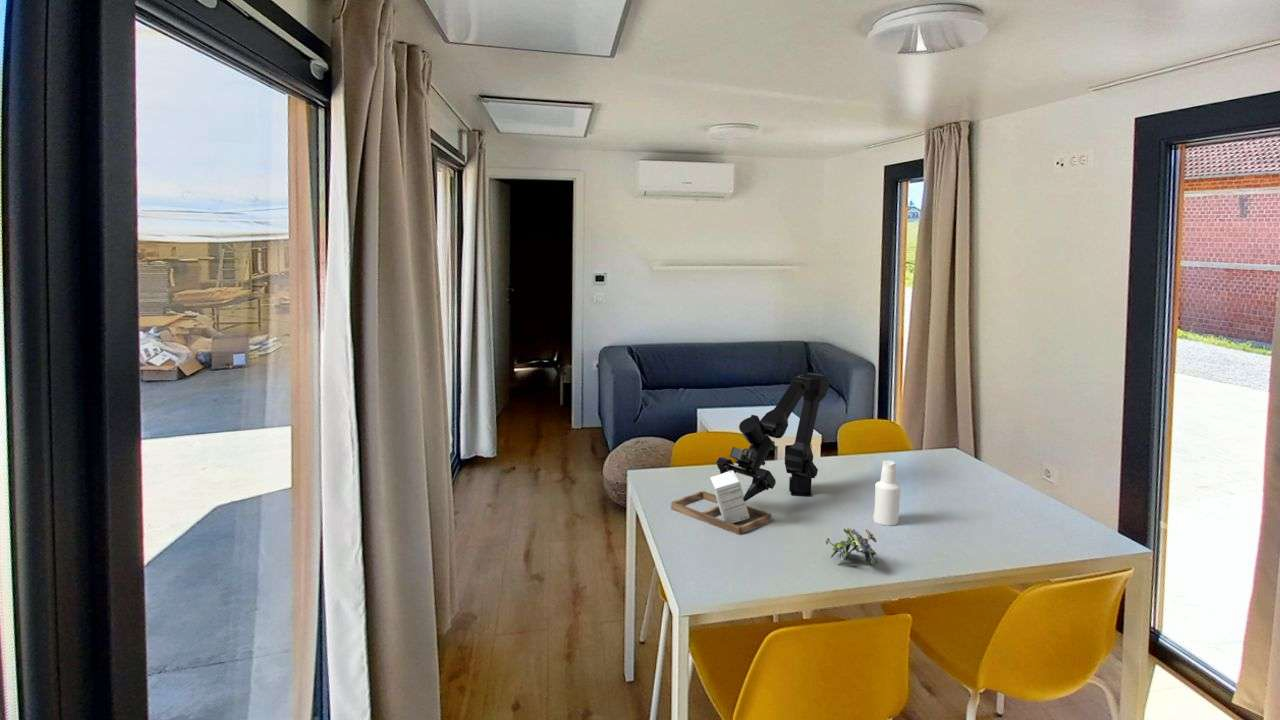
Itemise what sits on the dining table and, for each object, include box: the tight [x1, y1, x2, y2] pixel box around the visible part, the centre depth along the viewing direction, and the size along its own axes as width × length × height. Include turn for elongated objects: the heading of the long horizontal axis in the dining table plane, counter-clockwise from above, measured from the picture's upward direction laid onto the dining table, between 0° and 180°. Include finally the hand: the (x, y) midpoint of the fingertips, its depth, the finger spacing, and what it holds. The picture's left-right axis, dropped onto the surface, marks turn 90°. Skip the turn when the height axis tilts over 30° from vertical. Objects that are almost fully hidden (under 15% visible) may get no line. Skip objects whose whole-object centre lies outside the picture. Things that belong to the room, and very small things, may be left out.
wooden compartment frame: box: [670, 490, 772, 535], centre depth 204 cm, size 15×27×2 cm, turn 43°
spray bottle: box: [872, 459, 901, 527], centre depth 198 cm, size 7×7×18 cm
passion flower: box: [825, 526, 879, 567], centre depth 172 cm, size 11×11×12 cm
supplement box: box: [709, 470, 750, 524], centre depth 198 cm, size 7×7×13 cm
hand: (731, 496), depth 198 cm, fingers closed on supplement box, 9 cm apart
